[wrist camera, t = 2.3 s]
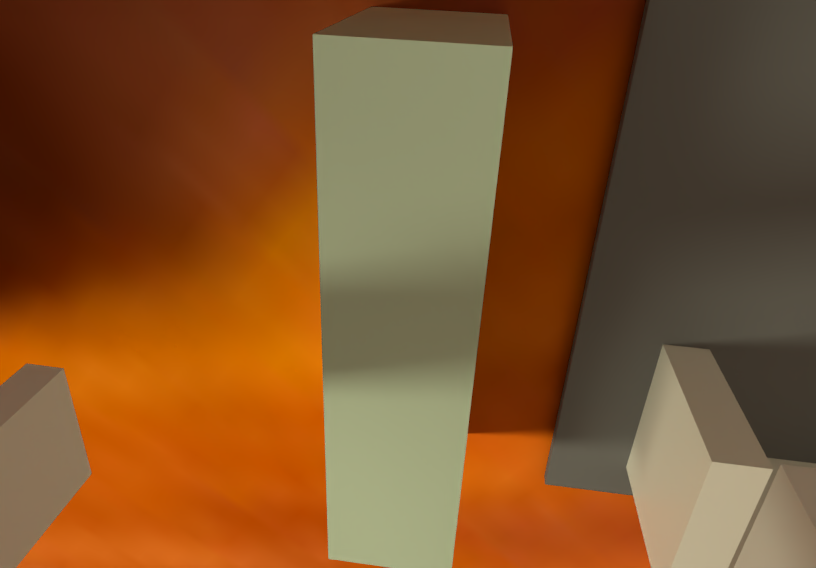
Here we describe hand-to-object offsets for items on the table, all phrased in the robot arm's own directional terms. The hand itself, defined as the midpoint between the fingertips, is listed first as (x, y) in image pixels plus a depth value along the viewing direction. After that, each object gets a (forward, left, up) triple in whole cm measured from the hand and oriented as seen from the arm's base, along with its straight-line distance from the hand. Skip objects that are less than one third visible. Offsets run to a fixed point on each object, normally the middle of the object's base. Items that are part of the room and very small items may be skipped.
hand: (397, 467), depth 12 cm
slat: (0, 0, -9) cm, 9 cm away
